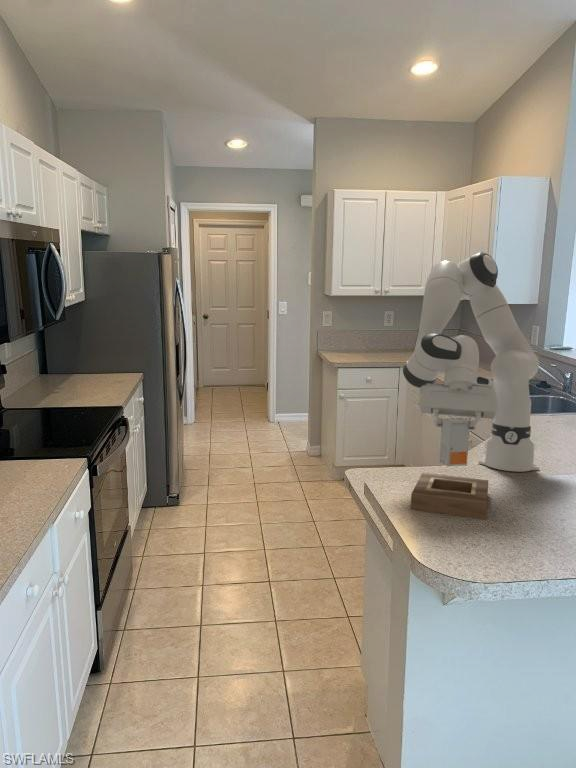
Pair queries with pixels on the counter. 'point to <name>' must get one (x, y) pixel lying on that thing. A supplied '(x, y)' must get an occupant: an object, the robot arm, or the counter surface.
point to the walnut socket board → (451, 495)
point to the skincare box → (454, 441)
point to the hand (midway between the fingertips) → (455, 426)
